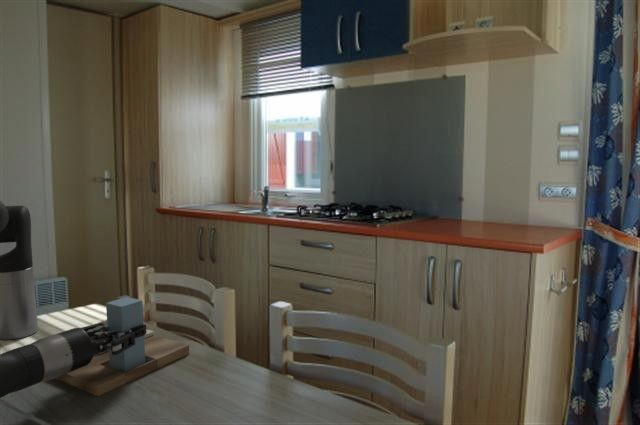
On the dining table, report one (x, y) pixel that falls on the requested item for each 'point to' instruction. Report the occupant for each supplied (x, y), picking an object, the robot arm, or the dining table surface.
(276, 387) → the dining table surface
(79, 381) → the board
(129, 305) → the block
